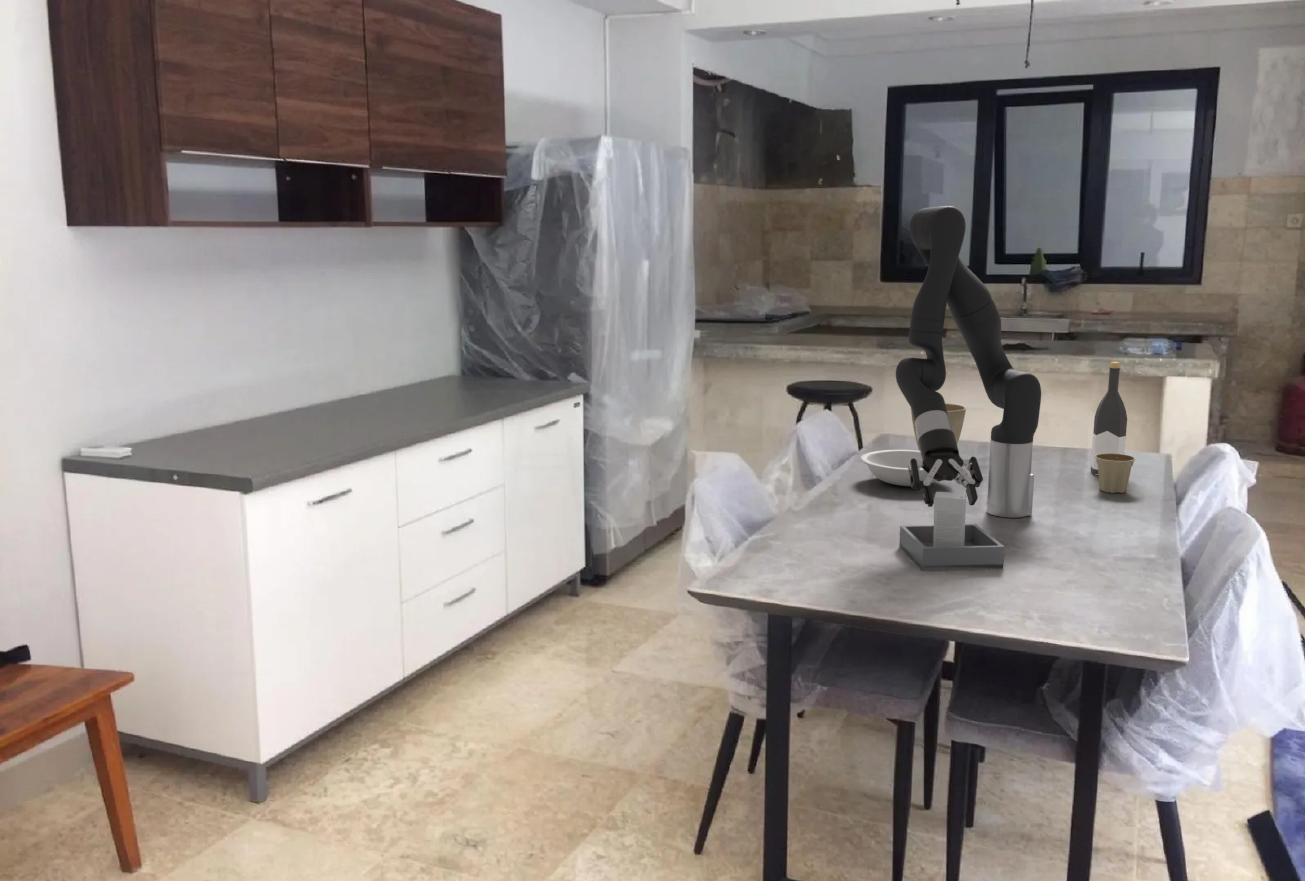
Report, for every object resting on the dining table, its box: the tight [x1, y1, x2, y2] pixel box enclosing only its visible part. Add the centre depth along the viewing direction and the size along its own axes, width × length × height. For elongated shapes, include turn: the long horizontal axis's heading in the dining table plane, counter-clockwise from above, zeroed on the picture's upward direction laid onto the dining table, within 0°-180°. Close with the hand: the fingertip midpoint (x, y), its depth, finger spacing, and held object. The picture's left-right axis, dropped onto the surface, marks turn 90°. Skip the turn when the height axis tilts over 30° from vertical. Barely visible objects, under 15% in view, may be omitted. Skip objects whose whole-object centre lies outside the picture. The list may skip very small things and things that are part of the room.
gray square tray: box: [898, 523, 1005, 572], centre depth 214 cm, size 16×16×4 cm
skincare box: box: [933, 491, 967, 547], centre depth 213 cm, size 6×4×12 cm
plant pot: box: [910, 402, 967, 451], centre depth 298 cm, size 15×15×16 cm
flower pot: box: [1095, 453, 1137, 494], centre depth 266 cm, size 9×9×9 cm
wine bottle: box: [1090, 361, 1128, 475], centre depth 282 cm, size 8×8×30 cm
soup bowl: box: [860, 449, 938, 487], centre depth 275 cm, size 24×24×7 cm
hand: (952, 504), depth 214 cm, fingers open, 8 cm apart
